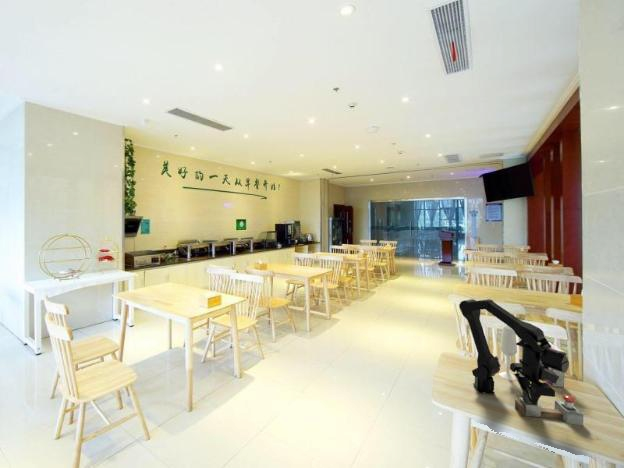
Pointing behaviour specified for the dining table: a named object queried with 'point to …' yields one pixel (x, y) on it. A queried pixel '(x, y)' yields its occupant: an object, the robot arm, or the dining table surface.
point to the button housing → (570, 414)
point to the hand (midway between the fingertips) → (529, 399)
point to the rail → (544, 411)
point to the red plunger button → (568, 401)
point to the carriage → (530, 405)
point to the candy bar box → (561, 375)
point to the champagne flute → (508, 349)
